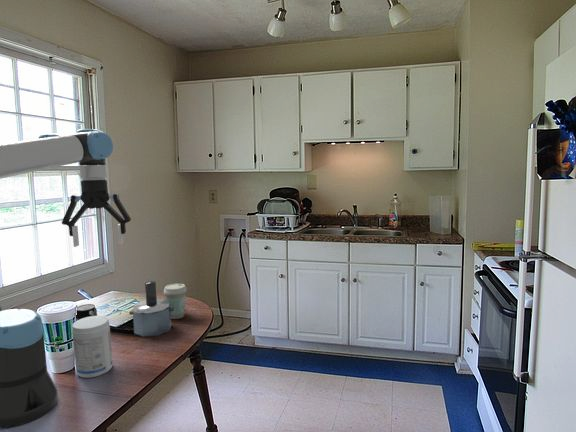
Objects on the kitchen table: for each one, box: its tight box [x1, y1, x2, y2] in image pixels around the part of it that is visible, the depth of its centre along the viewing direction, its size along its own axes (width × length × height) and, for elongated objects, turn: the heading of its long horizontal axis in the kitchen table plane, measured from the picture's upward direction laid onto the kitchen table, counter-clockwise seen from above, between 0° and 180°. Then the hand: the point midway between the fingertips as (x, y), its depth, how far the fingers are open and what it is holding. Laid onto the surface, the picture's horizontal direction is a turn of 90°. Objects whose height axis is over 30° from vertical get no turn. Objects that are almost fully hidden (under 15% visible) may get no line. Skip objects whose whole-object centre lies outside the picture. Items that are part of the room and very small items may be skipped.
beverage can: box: [76, 303, 98, 321], centre depth 134 cm, size 7×7×12 cm
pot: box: [129, 304, 174, 338], centre depth 143 cm, size 12×15×8 cm
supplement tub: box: [71, 315, 114, 379], centre depth 114 cm, size 10×10×15 cm
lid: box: [133, 280, 169, 314], centre depth 142 cm, size 12×12×9 cm
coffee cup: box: [163, 283, 187, 320], centre depth 155 cm, size 8×9×12 cm
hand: (99, 245), depth 130 cm, fingers open, 13 cm apart
